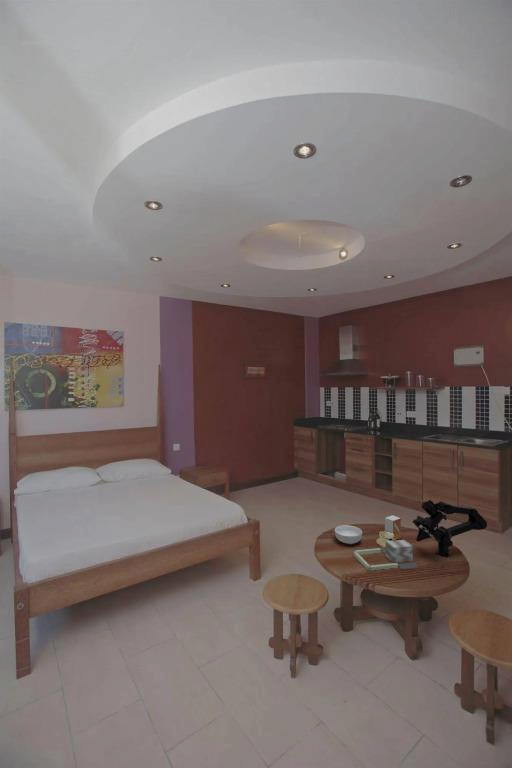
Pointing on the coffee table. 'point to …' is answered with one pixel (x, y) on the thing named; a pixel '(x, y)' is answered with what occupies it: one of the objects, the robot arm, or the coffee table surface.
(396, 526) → the small box
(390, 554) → the block
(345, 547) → the coffee table surface
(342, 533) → the cereal bowl
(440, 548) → the robot arm
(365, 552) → the green u-shaped guide frame
